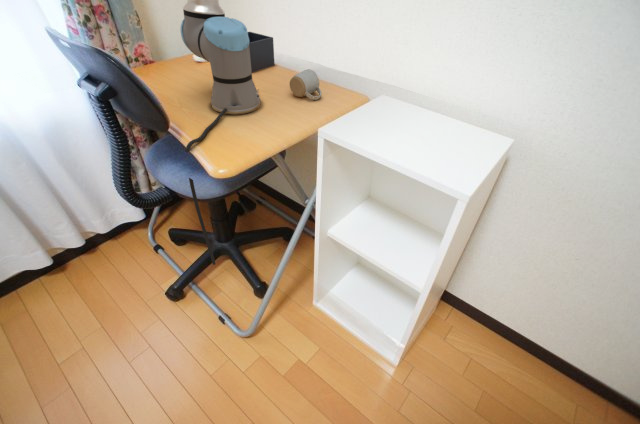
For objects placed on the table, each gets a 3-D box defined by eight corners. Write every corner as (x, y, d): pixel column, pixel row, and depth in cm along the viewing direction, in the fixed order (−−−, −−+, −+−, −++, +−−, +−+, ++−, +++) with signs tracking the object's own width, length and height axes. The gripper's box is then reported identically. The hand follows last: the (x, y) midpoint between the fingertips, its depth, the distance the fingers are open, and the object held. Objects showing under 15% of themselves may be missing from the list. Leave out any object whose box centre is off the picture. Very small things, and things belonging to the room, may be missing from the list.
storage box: (252, 72, 123) (249, 43, 115) (229, 65, 128) (225, 36, 121) (274, 65, 131) (273, 37, 124) (252, 58, 136) (249, 31, 129)
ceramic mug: (288, 94, 107) (287, 71, 102) (302, 88, 112) (303, 66, 107) (312, 103, 103) (313, 80, 98) (326, 96, 108) (327, 74, 103)
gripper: (365, -62, 99) (345, 13, 111) (315, -68, 113) (302, 0, 124) (350, -72, 94) (331, 8, 106) (300, -76, 108) (288, -5, 119)
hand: (316, 4), depth 115 cm, fingers open, 13 cm apart
